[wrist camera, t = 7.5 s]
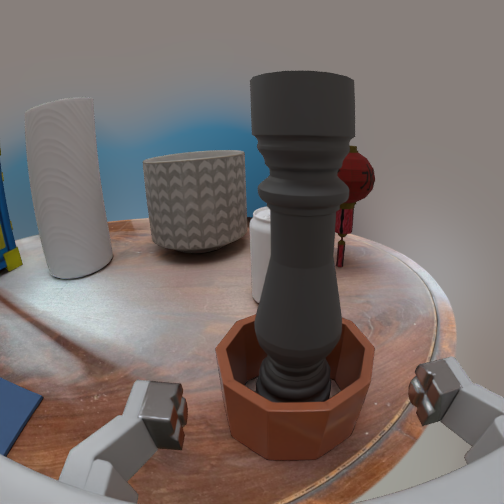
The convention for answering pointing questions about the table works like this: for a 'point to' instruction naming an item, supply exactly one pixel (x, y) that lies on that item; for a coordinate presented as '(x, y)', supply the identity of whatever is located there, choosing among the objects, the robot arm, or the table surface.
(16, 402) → the blue cloth
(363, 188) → the lantern
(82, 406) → the table surface
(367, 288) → the table surface
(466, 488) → the robot arm
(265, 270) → the beverage can
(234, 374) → the terracotta pot
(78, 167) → the vase
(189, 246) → the planter
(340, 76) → the candle holder
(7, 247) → the decorative book
